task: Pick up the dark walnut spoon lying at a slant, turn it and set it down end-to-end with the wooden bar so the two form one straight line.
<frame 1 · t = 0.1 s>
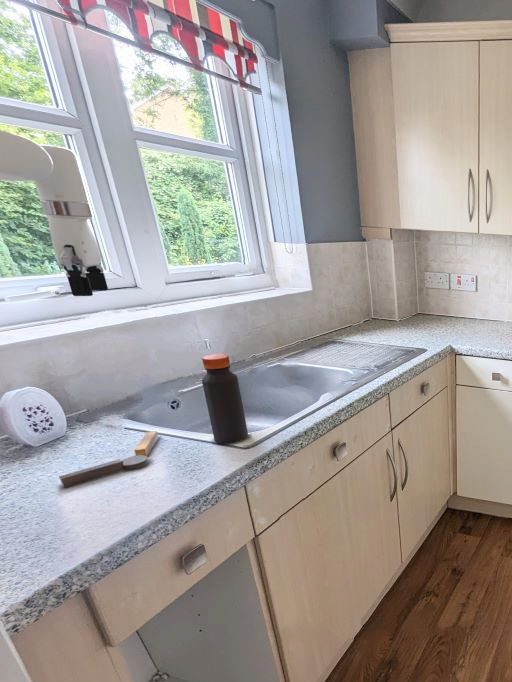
hand: (91, 292, 102), 32 cm above the table, tool pointing down, fingers open, 9 cm apart
bottle: (231, 439, 107), on the table
spoon: (108, 473, 90), on the table
wooden bar: (147, 447, 101), on the table
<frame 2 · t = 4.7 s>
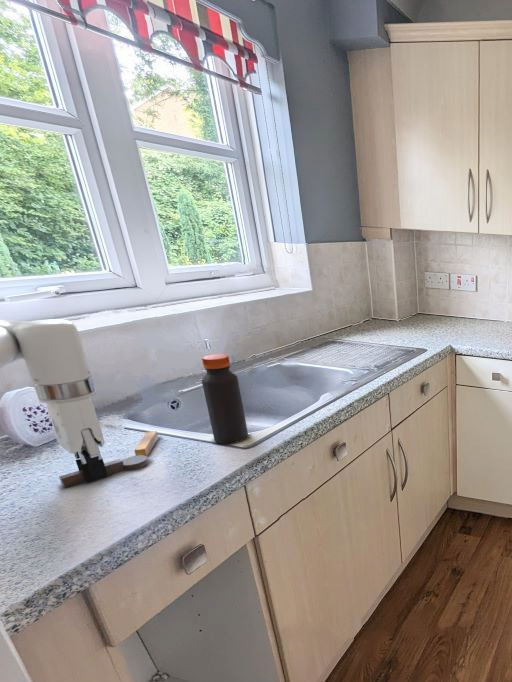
hand: (94, 476, 88), 0 cm above the table, tool pointing down, fingers closed on spoon, 1 cm apart
spoon: (108, 473, 90), on the table, touching gripper
everything else where it was.
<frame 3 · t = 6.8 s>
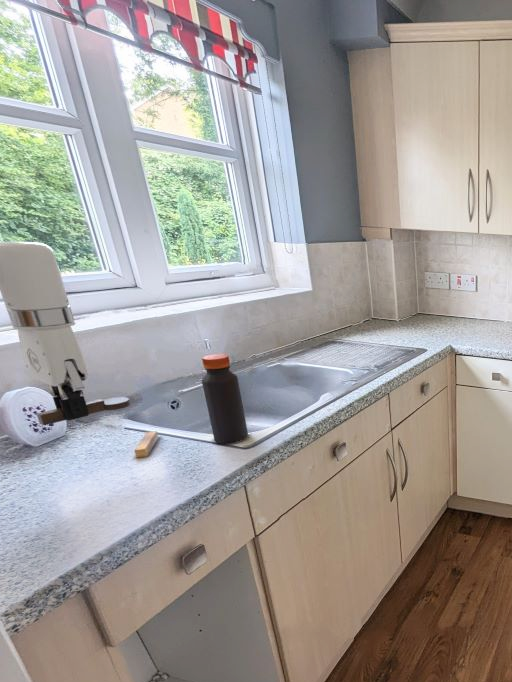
hand: (74, 415, 84), 13 cm above the table, tool pointing down, fingers closed on spoon
spoon: (88, 413, 86), point 13 cm above the table, touching gripper
everything else where it was.
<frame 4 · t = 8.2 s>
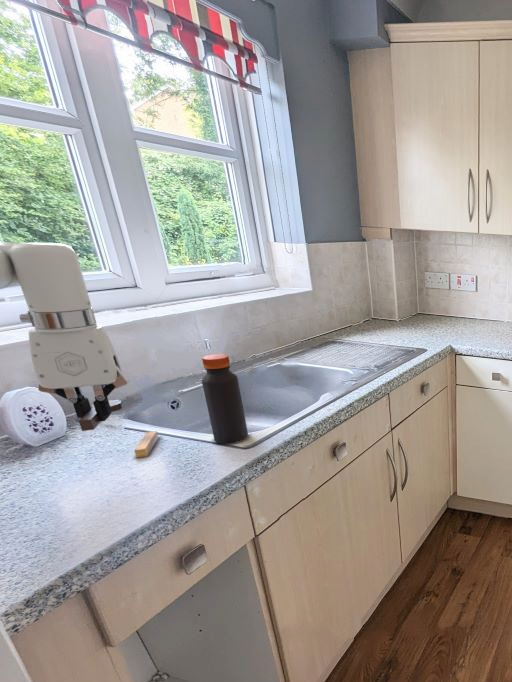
hand: (96, 419, 83), 13 cm above the table, tool pointing down, fingers closed on spoon
spoon: (100, 417, 85), point 13 cm above the table, touching gripper
everything else where it was.
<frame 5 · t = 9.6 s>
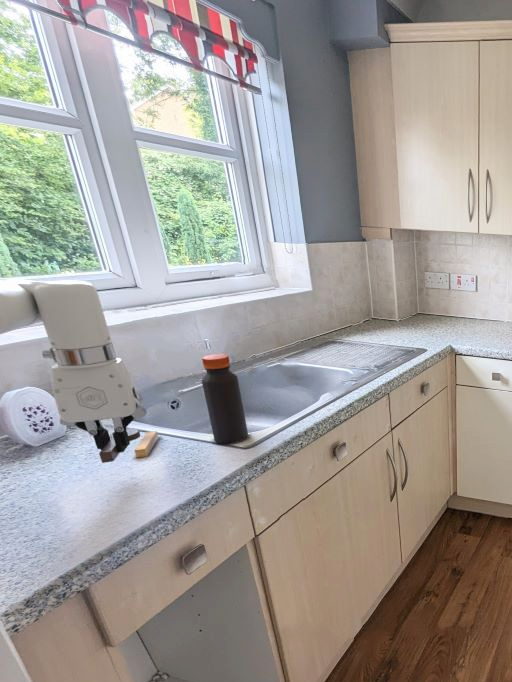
hand: (115, 449, 84), 7 cm above the table, tool pointing down, fingers closed on spoon, 1 cm apart
spoon: (119, 447, 86), point 7 cm above the table, touching gripper
everything else where it was.
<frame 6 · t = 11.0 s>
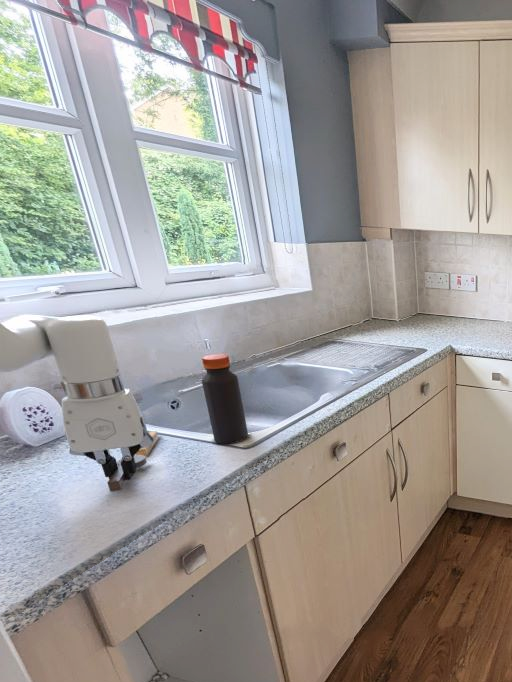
hand: (123, 477, 86), 1 cm above the table, tool pointing down, fingers closed on spoon, 1 cm apart
spoon: (126, 474, 88), point 1 cm above the table, touching gripper
everything else where it was.
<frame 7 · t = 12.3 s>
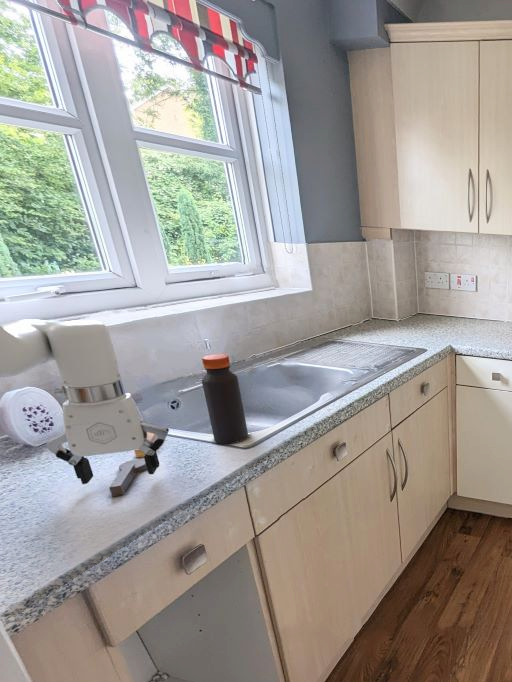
hand: (121, 475, 86), 2 cm above the table, tool pointing down, fingers open, 9 cm apart
spoon: (128, 479, 88), on the table
everything else where it was.
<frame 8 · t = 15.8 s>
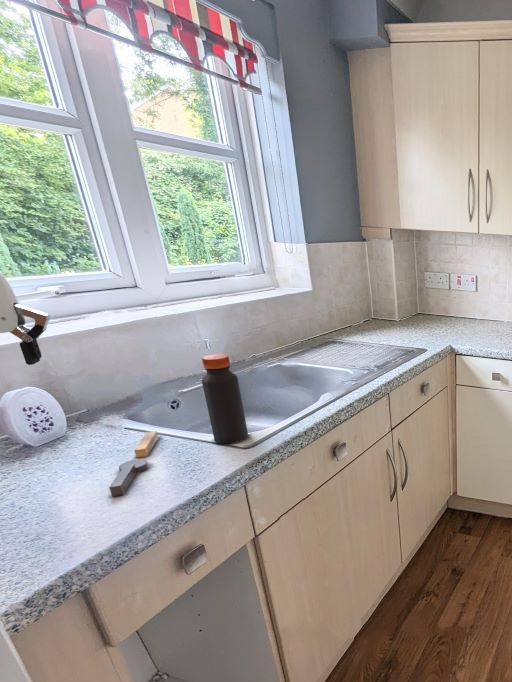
nothing on the table moved.
at the end: spoon 0.1 cm from the target spot, on the table; wooden bar moved 0.0 cm from its start; the gripper is holding nothing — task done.
